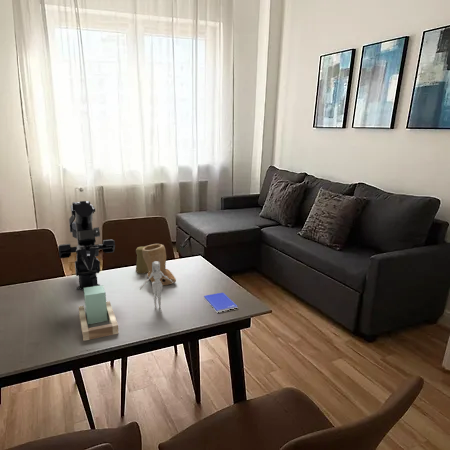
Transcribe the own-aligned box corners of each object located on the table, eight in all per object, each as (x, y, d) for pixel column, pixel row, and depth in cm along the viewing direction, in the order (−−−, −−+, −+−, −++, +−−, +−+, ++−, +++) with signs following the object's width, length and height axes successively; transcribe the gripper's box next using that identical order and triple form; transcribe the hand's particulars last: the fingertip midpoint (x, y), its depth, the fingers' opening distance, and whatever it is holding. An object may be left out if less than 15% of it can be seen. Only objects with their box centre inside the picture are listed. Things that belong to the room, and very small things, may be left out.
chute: (79, 317, 122) (78, 306, 121) (110, 311, 127) (109, 301, 126) (83, 344, 108) (82, 332, 107) (118, 336, 112) (118, 325, 111)
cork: (152, 269, 165) (151, 246, 162) (145, 274, 159) (144, 250, 156) (140, 267, 167) (139, 244, 164) (132, 272, 161) (131, 248, 158)
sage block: (86, 315, 121) (83, 287, 119) (104, 312, 124) (103, 284, 121) (87, 324, 116) (85, 295, 113) (107, 320, 118) (105, 292, 116)
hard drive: (238, 306, 131) (223, 292, 141) (217, 310, 127) (203, 295, 138) (237, 310, 131) (223, 295, 142) (216, 314, 128) (203, 299, 138)
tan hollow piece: (141, 275, 158) (140, 241, 154) (168, 271, 163) (168, 239, 159) (147, 289, 145) (145, 253, 141) (176, 285, 149) (176, 250, 145)
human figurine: (142, 316, 124) (140, 266, 119) (139, 312, 127) (137, 263, 122) (175, 308, 130) (174, 260, 125) (171, 304, 133) (170, 257, 128)
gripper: (55, 222, 124) (59, 264, 117) (112, 217, 131) (119, 256, 125) (57, 238, 133) (61, 277, 126) (110, 233, 140) (117, 270, 133)
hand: (90, 270), depth 127 cm, fingers closed
